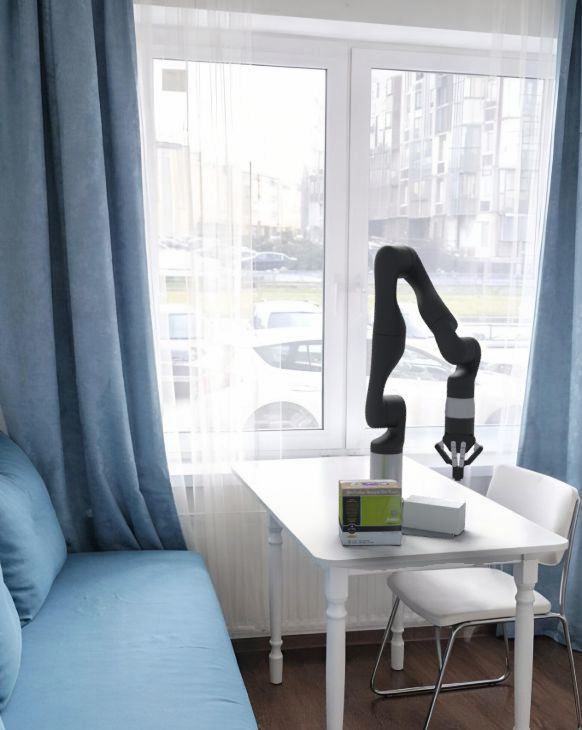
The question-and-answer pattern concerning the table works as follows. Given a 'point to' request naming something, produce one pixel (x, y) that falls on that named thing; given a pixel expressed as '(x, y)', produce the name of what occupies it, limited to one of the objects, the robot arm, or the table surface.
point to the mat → (425, 533)
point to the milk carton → (433, 514)
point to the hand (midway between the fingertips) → (457, 480)
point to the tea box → (370, 512)
